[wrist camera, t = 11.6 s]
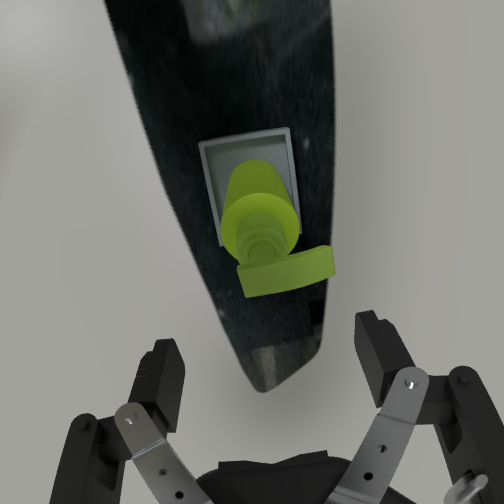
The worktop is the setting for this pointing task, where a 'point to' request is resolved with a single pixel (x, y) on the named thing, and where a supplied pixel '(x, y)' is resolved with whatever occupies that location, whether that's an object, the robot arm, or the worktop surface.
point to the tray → (238, 151)
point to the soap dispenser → (267, 234)
